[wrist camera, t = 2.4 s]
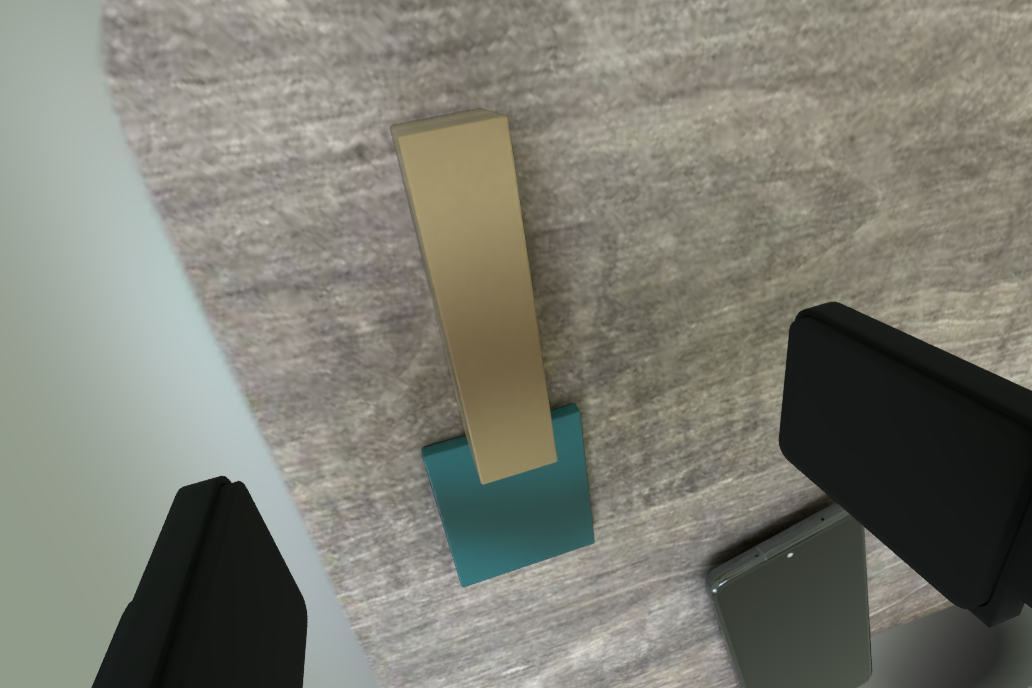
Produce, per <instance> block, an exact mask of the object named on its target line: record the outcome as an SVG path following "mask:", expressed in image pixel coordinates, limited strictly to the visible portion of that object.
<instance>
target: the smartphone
mask: <svg viewBox="0 0 1032 688" xmlns="http://www.w3.org/2000/svg"><path fill="white" fill-rule="evenodd" d="M706 591H707V594H708V597H709V599H710V602H711V605H712V608H713V611H714V614H715V616H716V619H717V622H718V625H719V628H720V631H721V634H722V636H723V639H724V642H725V645H726V648H727V651H728V654H729V656H730V659H731V662H732V665H733V668H734V671H735V673H736V676H737V679H738V682H739V685H740V688H858V687H860V686H861V685H863V684H865V683H866V682H867V681H868V680H869V679H870V677H871V675H872V662H871V661H872V659H871V642H870V622H869V604H868V586H867V567H866V549H865V530H864V526H863V525H862V524H861V523H859V522H858V521H857V520H856V519H855V518H854V517H852V516H851V515H850V514H849V513H848V512H847V511H846V510H844V509H843V508H842V507H841V506H840V505H839V504H838V503H834V504H832V505H830V506H828V507H826V508H824V509H823V510H821V511H819V512H817V513H815V514H813V515H811V516H810V517H808V518H806V519H804V520H802V521H800V522H799V523H797V524H795V525H793V526H791V527H789V528H788V529H786V530H784V531H782V532H780V533H778V534H777V535H775V536H773V537H771V538H769V539H767V540H765V541H764V542H762V543H760V544H758V545H756V546H754V547H753V548H751V549H749V550H747V551H745V552H743V553H742V554H740V555H738V556H736V557H734V558H732V559H731V560H729V561H727V562H725V563H723V564H721V565H720V566H718V567H716V568H715V569H713V570H712V571H711V572H710V573H709V575H708V576H707V579H706Z"/></svg>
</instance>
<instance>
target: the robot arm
mask: <svg viewBox="0 0 1032 688" xmlns="http://www.w3.org/2000/svg"><path fill="white" fill-rule="evenodd" d="M779 446H780V449H781V451H782V453H783V455H784V456H785V458H786V459H787V460H788V461H789V462H790V463H792V464H793V465H794V466H795V467H796V468H797V469H798V470H800V471H801V472H802V473H803V474H804V475H805V476H806V477H808V478H809V479H810V480H811V481H812V482H813V483H815V484H816V485H817V486H818V487H819V488H820V489H821V490H823V491H824V492H825V493H826V494H827V495H828V496H829V497H831V498H832V499H833V500H834V501H835V502H836V503H838V504H839V505H840V506H841V507H842V508H843V509H844V510H846V511H847V512H848V513H849V514H850V515H851V516H852V517H854V518H855V519H856V520H857V521H858V522H859V523H861V524H862V525H863V526H864V527H865V528H866V529H867V530H869V531H870V532H871V533H872V534H873V535H874V536H875V537H877V538H878V539H879V540H880V541H881V542H882V543H884V544H885V545H886V546H887V547H888V548H889V549H890V550H892V551H893V552H894V553H895V554H896V555H897V556H898V557H900V558H901V559H902V560H903V561H904V562H905V563H907V564H908V565H909V566H910V567H911V568H912V569H913V570H915V571H916V572H917V573H918V574H919V575H920V576H921V577H923V578H924V579H925V580H926V581H927V582H928V583H930V584H931V585H932V586H933V587H934V588H935V589H936V590H938V591H939V592H940V593H941V594H942V595H943V596H944V597H946V598H947V599H948V600H949V601H950V602H952V603H953V604H955V605H956V606H958V607H960V608H963V609H968V610H969V611H970V612H972V613H973V614H974V615H975V616H976V617H977V618H979V619H980V620H981V621H982V622H983V623H985V624H986V625H987V626H988V627H989V628H990V627H992V626H995V625H997V624H999V623H1002V622H1004V621H1006V620H1009V619H1011V618H1013V617H1016V616H1018V615H1019V614H1020V613H1021V610H1022V608H1023V606H1024V604H1025V603H1026V604H1027V605H1028V606H1030V607H1031V608H1032V391H1031V390H1029V389H1026V388H1024V387H1022V386H1020V385H1018V384H1016V383H1013V382H1011V381H1009V380H1007V379H1005V378H1002V377H1000V376H998V375H996V374H994V373H992V372H989V371H987V370H985V369H983V368H981V367H978V366H976V365H974V364H972V363H970V362H968V361H965V360H963V359H961V358H959V357H957V356H954V355H952V354H950V353H948V352H946V351H944V350H941V349H939V348H937V347H935V346H933V345H930V344H928V343H926V342H924V341H922V340H920V339H917V338H915V337H913V336H911V335H909V334H906V333H904V332H902V331H900V330H898V329H895V328H893V327H891V326H889V325H887V324H885V323H882V322H880V321H878V320H876V319H874V318H871V317H869V316H867V315H865V314H863V313H861V312H858V311H856V310H854V309H852V308H850V307H847V306H845V305H843V304H841V303H838V302H828V303H825V304H821V305H818V306H814V307H811V308H807V309H804V310H802V311H800V312H799V313H798V315H797V316H796V319H795V321H794V322H792V324H791V326H790V329H789V339H788V349H787V359H786V370H785V380H784V390H783V401H782V411H781V421H780V432H779ZM306 636H307V609H306V605H305V601H304V598H303V596H302V594H301V592H300V590H299V588H298V586H297V584H296V583H295V580H294V578H293V576H292V575H291V573H290V571H289V569H288V567H287V565H286V563H285V561H284V559H283V557H282V555H281V554H280V552H279V550H278V547H277V546H276V544H275V542H274V540H273V538H272V536H271V534H270V532H269V530H268V528H267V526H266V524H265V522H264V520H263V518H262V516H261V515H260V513H259V511H258V509H257V507H256V505H255V503H254V501H253V499H252V497H251V495H250V493H249V491H248V489H247V488H246V487H245V484H244V483H242V482H241V481H237V482H234V483H231V481H230V480H229V479H228V478H227V477H225V476H219V477H216V478H212V479H208V480H205V481H201V482H198V483H195V484H191V485H187V486H184V487H182V488H180V489H179V491H178V492H177V494H176V496H175V498H174V501H173V503H172V506H171V508H170V511H169V513H168V515H167V518H166V520H165V523H164V525H163V527H162V530H161V532H160V535H159V537H158V540H157V542H156V545H155V547H154V549H153V552H152V554H151V557H150V559H149V561H148V564H147V566H146V569H145V571H144V574H143V576H142V578H141V581H140V583H139V586H138V588H137V591H136V593H135V595H134V598H133V600H132V601H131V602H130V603H129V604H128V606H127V607H126V609H125V611H124V613H123V614H122V617H121V619H120V621H119V624H118V626H117V628H116V631H115V633H114V635H113V638H112V640H111V643H110V645H109V648H108V650H107V652H106V655H105V657H104V659H103V662H102V664H101V667H100V669H99V671H98V674H97V676H96V678H95V681H94V683H93V685H92V688H303V676H304V663H305V662H304V661H305V649H306ZM1028 688H1032V686H1030V687H1028Z"/></svg>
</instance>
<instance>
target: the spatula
mask: <svg viewBox="0 0 1032 688" xmlns="http://www.w3.org/2000/svg"><path fill="white" fill-rule="evenodd" d="M390 130H391V135H392V139H393V143H394V147H395V151H396V155H397V159H398V163H399V167H400V171H401V175H402V179H403V183H404V187H405V191H406V195H407V200H408V204H409V208H410V212H411V216H412V220H413V224H414V228H415V232H416V236H417V240H418V244H419V248H420V252H421V256H422V261H423V265H424V269H425V273H426V277H427V281H428V285H429V289H430V293H431V297H432V301H433V305H434V309H435V313H436V317H437V321H438V326H439V330H440V334H441V338H442V342H443V346H444V350H445V354H446V358H447V362H448V366H449V370H450V374H451V378H452V382H453V386H454V391H455V395H456V399H457V403H458V407H459V411H460V415H461V419H462V423H463V427H464V431H465V436H462V437H458V438H455V439H451V440H448V441H444V442H441V443H438V444H434V445H431V446H427V447H424V448H422V449H421V452H422V457H423V461H424V464H425V467H426V471H427V474H428V477H429V480H430V484H431V487H432V490H433V494H434V497H435V500H436V504H437V507H438V510H439V513H440V517H441V520H442V523H443V527H444V530H445V533H446V537H447V540H448V543H449V547H450V550H451V553H452V556H453V560H454V563H455V566H456V570H457V573H458V576H459V580H460V583H461V586H462V587H466V586H469V585H472V584H475V583H478V582H481V581H484V580H487V579H490V578H493V577H496V576H499V575H502V574H505V573H508V572H511V571H514V570H517V569H520V568H522V567H525V566H528V565H531V564H534V563H537V562H540V561H543V560H546V559H549V558H552V557H555V556H558V555H561V554H564V553H567V552H570V551H573V550H576V549H578V548H581V547H584V546H587V545H590V544H593V543H594V542H595V541H594V532H593V523H592V514H591V505H590V496H589V488H588V479H587V470H586V461H585V452H584V443H583V434H582V426H581V417H580V411H579V410H578V408H577V407H576V405H575V404H571V405H568V406H564V407H561V408H558V409H554V410H551V411H550V405H549V398H548V391H547V384H546V377H545V371H544V364H543V357H542V350H541V343H540V336H539V329H538V323H537V316H536V309H535V302H534V295H533V288H532V281H531V274H530V268H529V261H528V254H527V247H526V240H525V233H524V226H523V219H522V213H521V206H520V199H519V192H518V185H517V178H516V171H515V165H514V158H513V151H512V144H511V137H510V130H509V123H508V118H507V116H504V115H501V114H498V113H495V112H491V111H488V110H485V109H482V108H478V109H473V110H468V111H463V112H457V113H452V114H447V115H442V116H436V117H431V118H426V119H421V120H415V121H410V122H405V123H400V124H394V125H391V126H390Z"/></svg>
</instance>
